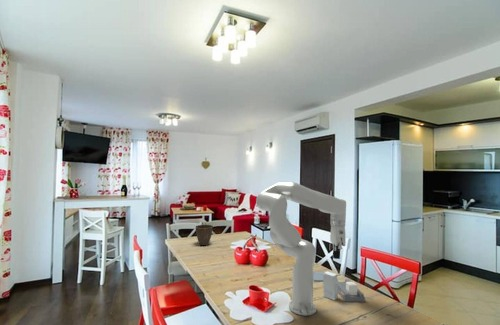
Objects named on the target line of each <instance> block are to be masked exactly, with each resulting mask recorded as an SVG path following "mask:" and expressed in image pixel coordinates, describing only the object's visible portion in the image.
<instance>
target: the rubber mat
mask: <svg viewBox="0 0 500 325" xmlns="http://www.w3.org/2000/svg"><path fill="white" fill-rule="evenodd" d="M325 272H326V271H325ZM325 272H324V271H320V272H319V271H313V282H316V283H317V282H322V283H323V273H325Z"/></svg>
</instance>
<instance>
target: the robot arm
mask: <svg viewBox="0 0 500 325" xmlns="http://www.w3.org/2000/svg"><path fill="white" fill-rule="evenodd" d="M288 201H291V202H294V203H295V204H300V205H302V206H305V207H308V208H311V209H317V210H318V211H320V212H322V213H326V214H330V234H329V236H330V237H329V238H330V240H329V241H330V242H331V244H332V258H333V259H334V260H340V258H341V250H342V249H343V247H345V246H346V217H347V201H346V200H345V199H340V198H337V197H336V196H332V195H330V194H327V193H323V192H320V191H318V190H314V189H311V188H309V187H307V186H305V185H302V184H299V183H297V182H293V181H279V182H277V183H274V185H271V186H270V187H268V188H266V189H264V190H263V191H261V192H260V193H259V194H258V195H257V197H256V199H255V202H256V206H257V208H258V209H260V210H262V211H264V212H269V217H268V226H269V228H270V230H269V237H270V239H271V241H272V242H273V243H274V244H275V245H276V246H277V247H278V249H280V250H281V251H282V252H283V253H284V254H285V255H287V256H289V257H292V258H293V259H295V262H294V263H293V264H294V265H293V267H292V287H291V288H292V289H291V290H292V293H291V294H292V296H291V298H292V299H291V301H290V302H289V304H288V308H289V310H290V311H291V312H292V313H294V314H295V315H299V316H307V317H308V316H313V315H314V314H316V313H317V306H316V304H314V281H313V272H314V265H315V259H316V253H317V251H316V247H315V245H314V244H313V243H312V242H310V241H309V240H306V239H303V238H302V237H301V236H302V235H301V234H300V232H299V231H298V229H297V228H296V227H295V226H294V225H293V224H292V222H291V221H290V220H289V219H288V218H287V210H288Z"/></svg>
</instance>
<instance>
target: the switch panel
mask: <svg viewBox="0 0 500 325" xmlns="http://www.w3.org/2000/svg"><path fill="white" fill-rule="evenodd" d="M344 280H345V281H339V280H338V279H337V288H338V294H339V295H338V296H340V297H341V298H342V299H343V302H357V303H358V302H361V303H362V302H365V301H366V300H365V294H364V293H363V292H362V291H361V290H360V289H359V288H358V287H357V295H350V294H349V293H348V292H347V290H346V282H352V281H351V280H350V279H349V278H348V279H347V278H346V279H344Z"/></svg>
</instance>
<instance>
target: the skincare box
mask: <svg viewBox="0 0 500 325" xmlns="http://www.w3.org/2000/svg"><path fill="white" fill-rule="evenodd" d="M337 280H338V274H337V273H335V272H331V271H327V270H326V271H325V273H323V282H322V283H323V284H322V287H323V297H324V298H327V299H329V300H333V301H336V300H337V299H338V296H339V295H338V294H339V293H338V288H337Z"/></svg>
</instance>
